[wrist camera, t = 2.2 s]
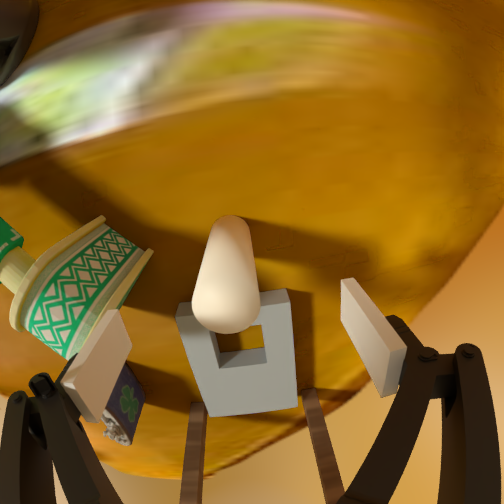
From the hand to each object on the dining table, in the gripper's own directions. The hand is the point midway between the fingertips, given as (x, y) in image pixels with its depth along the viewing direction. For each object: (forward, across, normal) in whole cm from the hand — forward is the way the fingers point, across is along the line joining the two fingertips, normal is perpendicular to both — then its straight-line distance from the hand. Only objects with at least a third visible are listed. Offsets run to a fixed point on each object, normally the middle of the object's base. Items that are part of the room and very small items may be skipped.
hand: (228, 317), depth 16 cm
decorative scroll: (+15, -24, +10) cm, 30 cm away
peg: (+15, 0, 0) cm, 15 cm away
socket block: (+15, -1, -15) cm, 21 cm away
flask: (+15, -18, -18) cm, 30 cm away
